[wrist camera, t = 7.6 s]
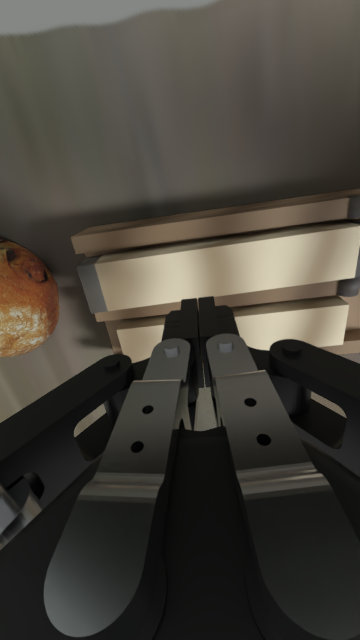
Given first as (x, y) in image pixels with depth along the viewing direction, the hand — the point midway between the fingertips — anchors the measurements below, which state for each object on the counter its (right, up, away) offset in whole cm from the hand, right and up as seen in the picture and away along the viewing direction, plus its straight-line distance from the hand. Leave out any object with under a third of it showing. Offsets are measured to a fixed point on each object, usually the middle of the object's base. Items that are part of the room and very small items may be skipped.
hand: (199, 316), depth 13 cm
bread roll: (-16, +3, +12) cm, 21 cm away
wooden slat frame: (+3, +3, +11) cm, 12 cm away
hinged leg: (+2, +4, +7) cm, 9 cm away
